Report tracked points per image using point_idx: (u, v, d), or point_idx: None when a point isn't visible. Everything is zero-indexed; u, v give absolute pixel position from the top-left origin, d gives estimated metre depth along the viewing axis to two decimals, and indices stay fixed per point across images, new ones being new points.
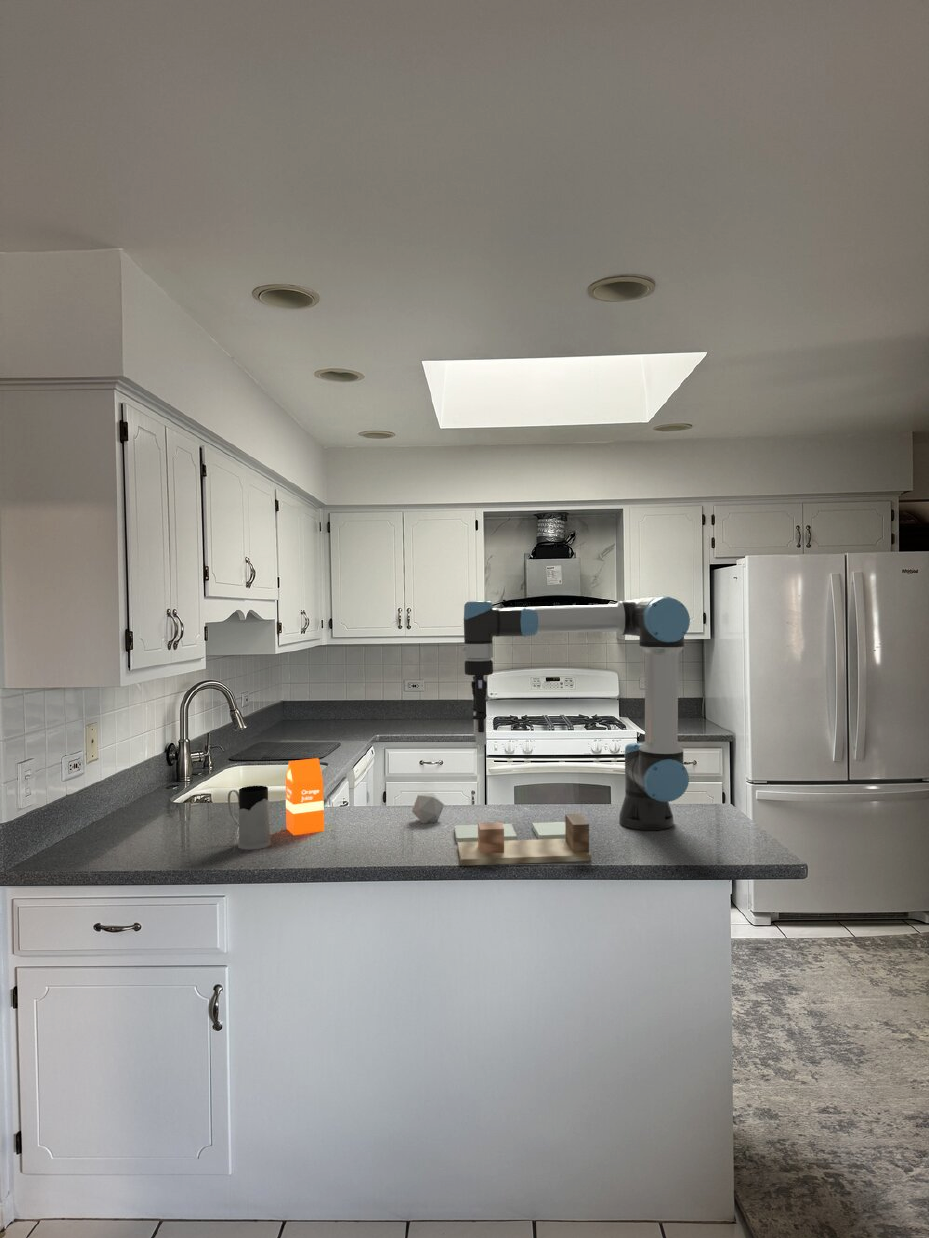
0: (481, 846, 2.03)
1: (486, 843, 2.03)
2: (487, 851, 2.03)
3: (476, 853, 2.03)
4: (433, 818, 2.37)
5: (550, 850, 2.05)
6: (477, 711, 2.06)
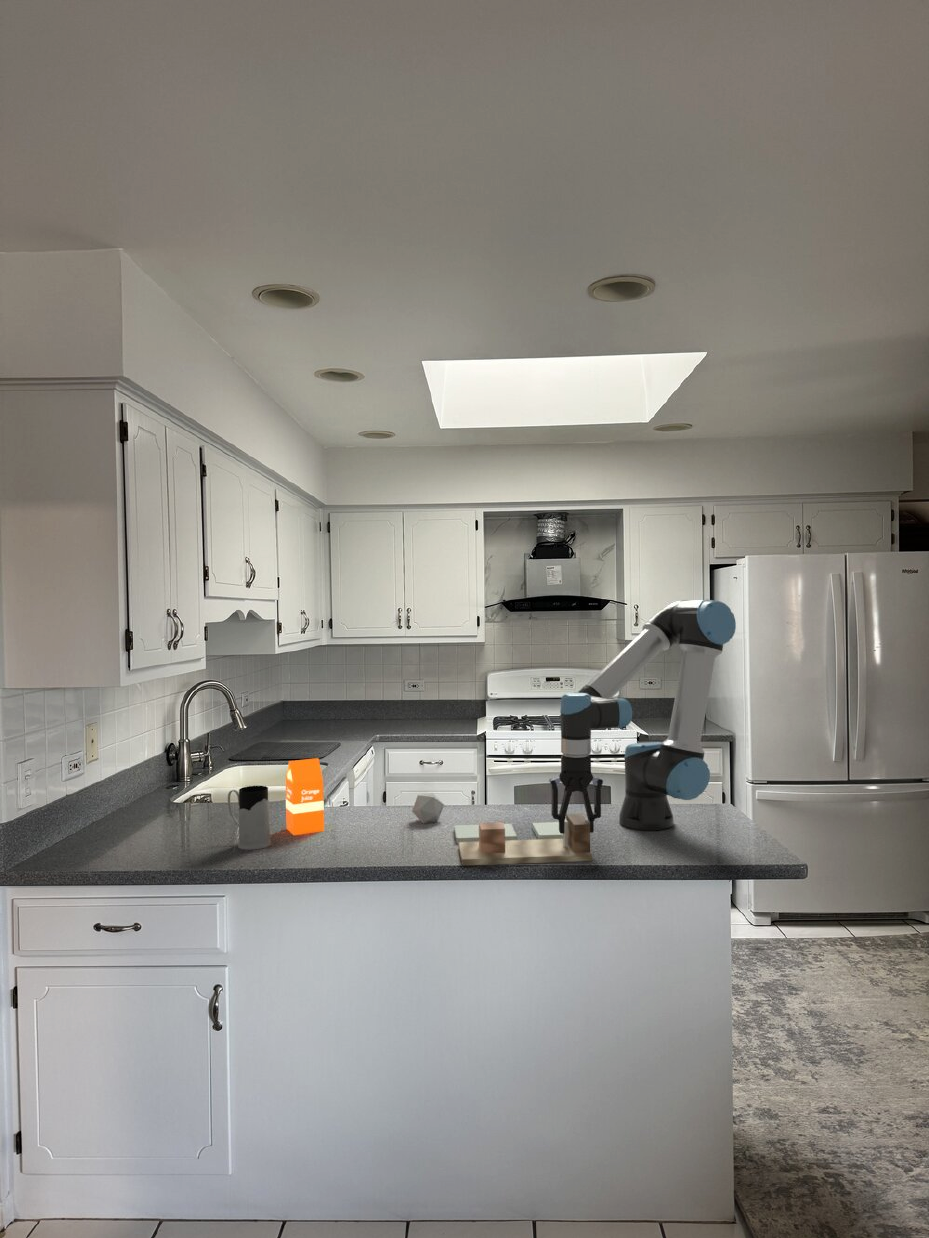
0: (482, 846, 2.03)
1: (487, 843, 2.03)
2: (488, 851, 2.03)
3: (477, 853, 2.03)
4: (433, 818, 2.37)
5: (551, 850, 2.05)
6: None
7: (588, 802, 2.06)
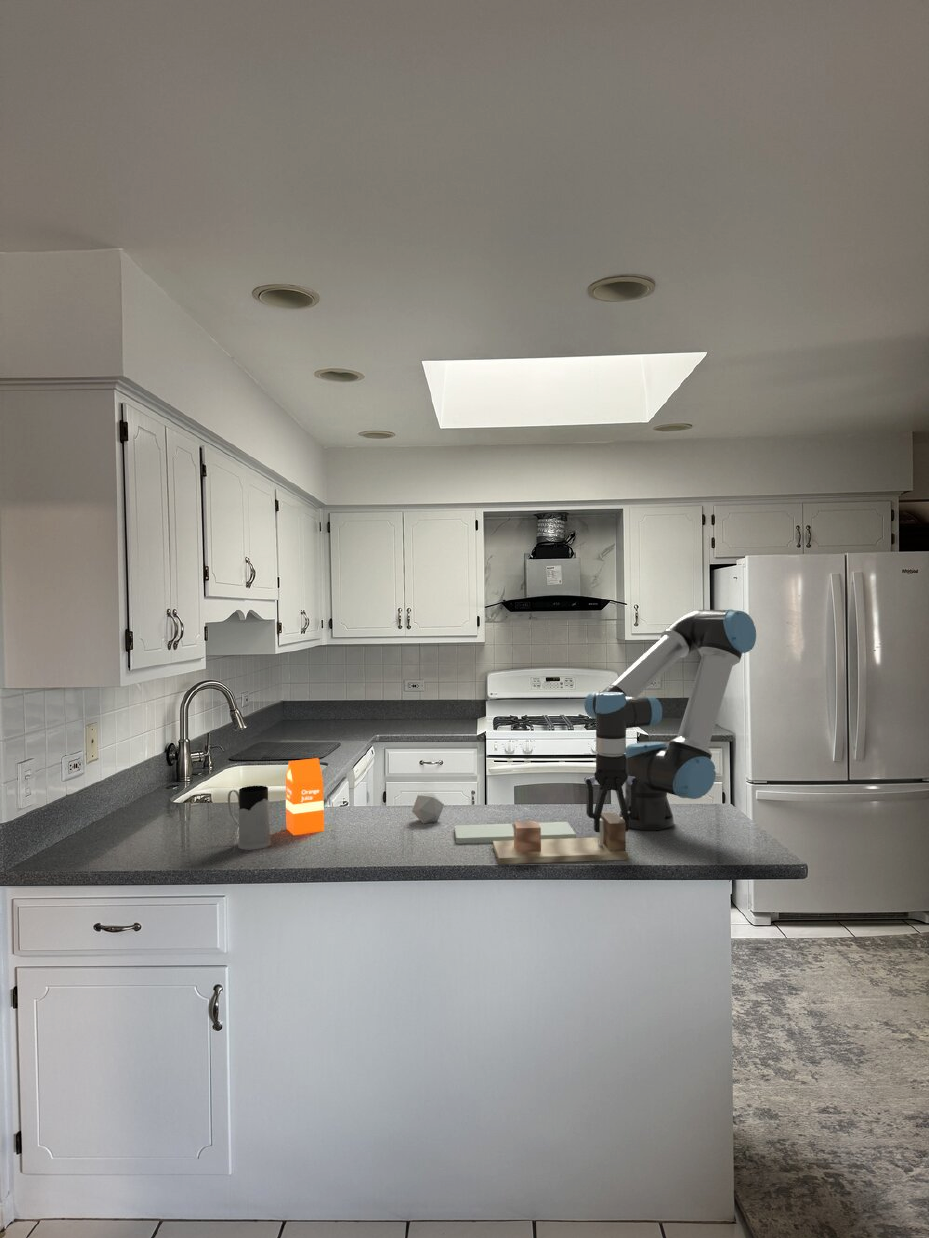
0: (518, 845, 2.04)
1: (523, 842, 2.04)
2: (524, 850, 2.04)
3: (513, 852, 2.04)
4: (433, 818, 2.37)
5: (587, 849, 2.05)
6: (586, 810, 2.09)
7: (623, 801, 2.07)
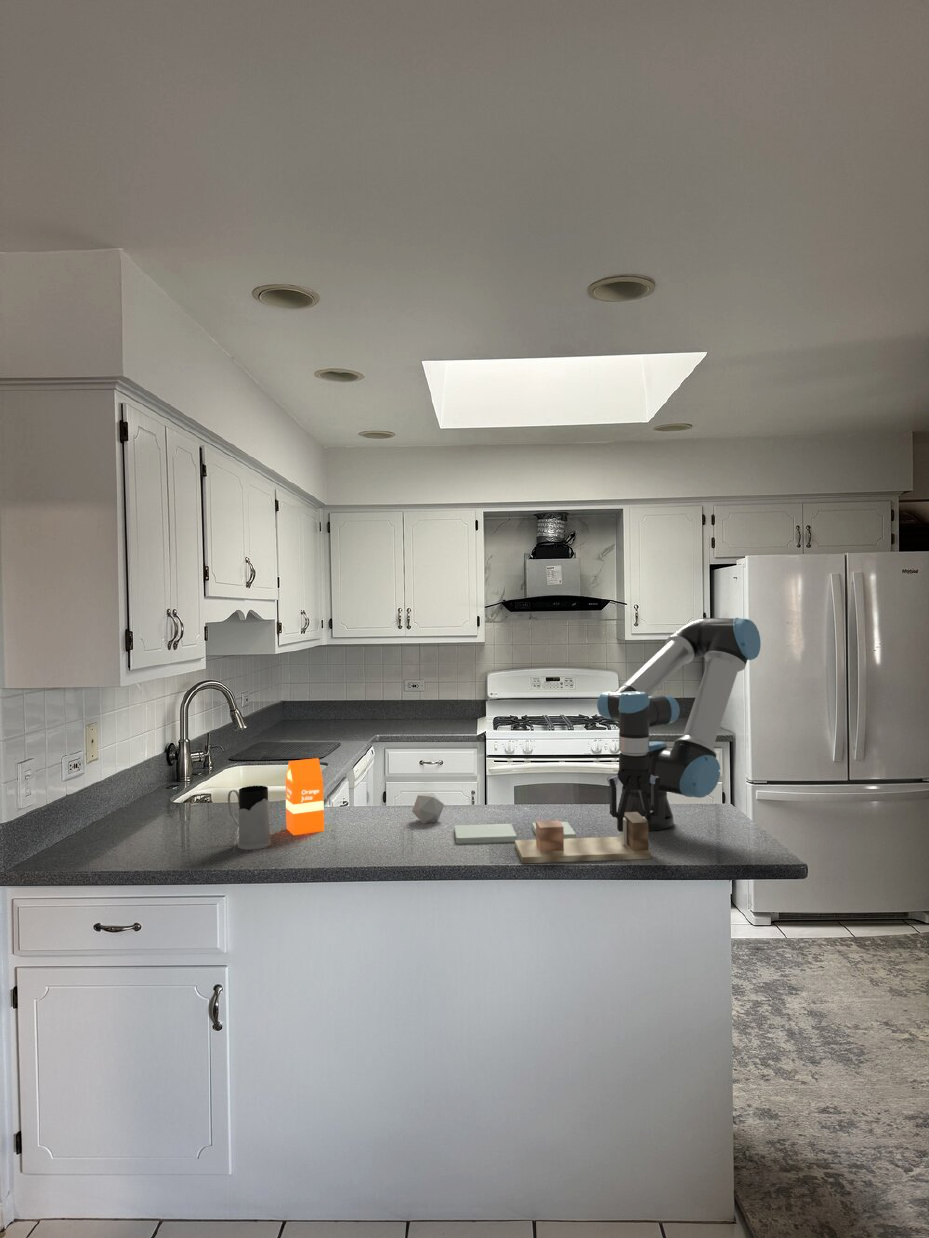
0: (541, 844, 2.04)
1: (546, 841, 2.04)
2: (547, 849, 2.04)
3: (536, 851, 2.04)
4: (433, 818, 2.37)
5: (609, 848, 2.06)
6: (610, 809, 2.09)
7: (646, 800, 2.07)
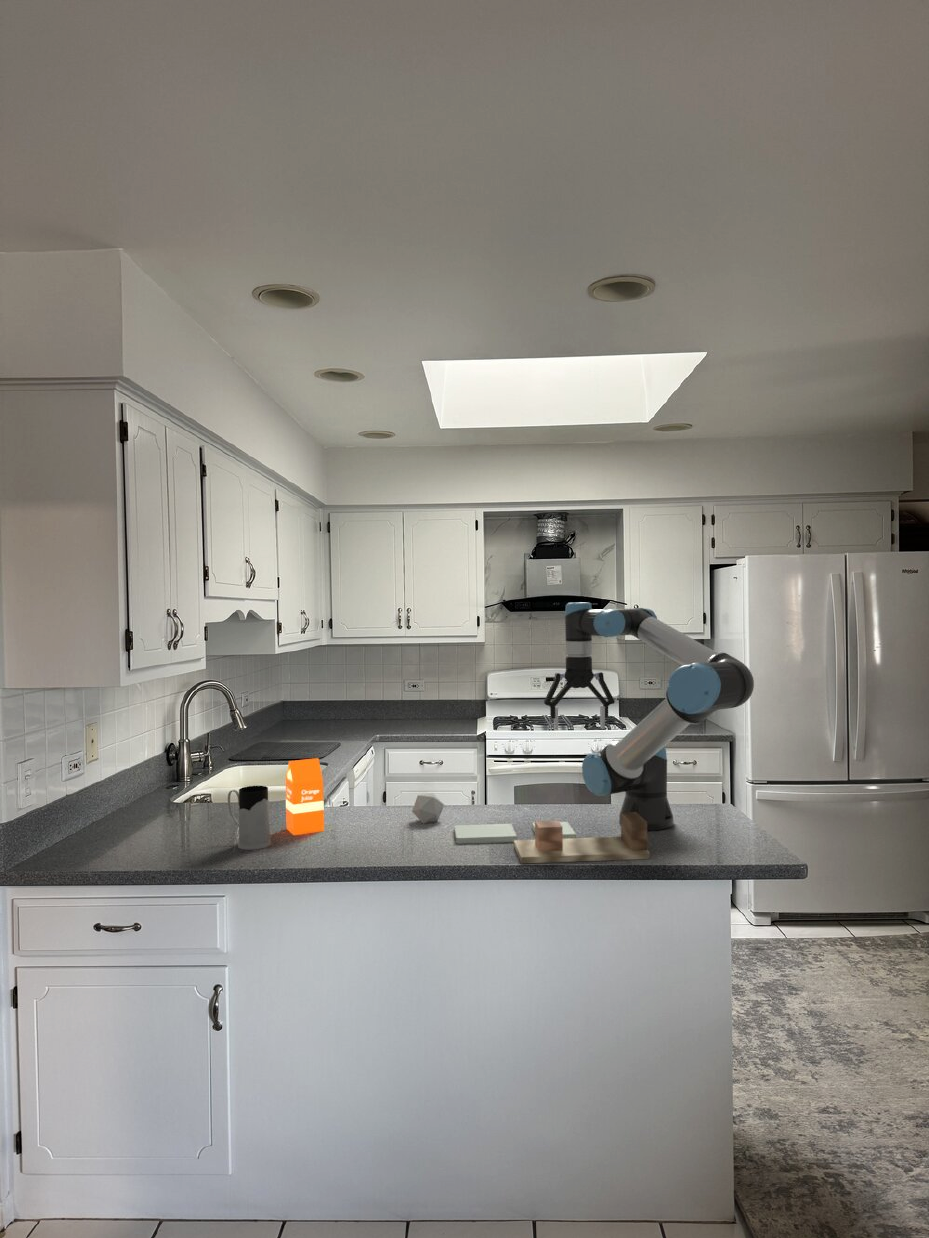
0: (540, 844, 2.04)
1: (545, 841, 2.04)
2: (546, 849, 2.04)
3: (535, 851, 2.04)
4: (433, 818, 2.37)
5: (608, 848, 2.06)
6: (545, 698, 2.36)
7: (597, 692, 2.35)
